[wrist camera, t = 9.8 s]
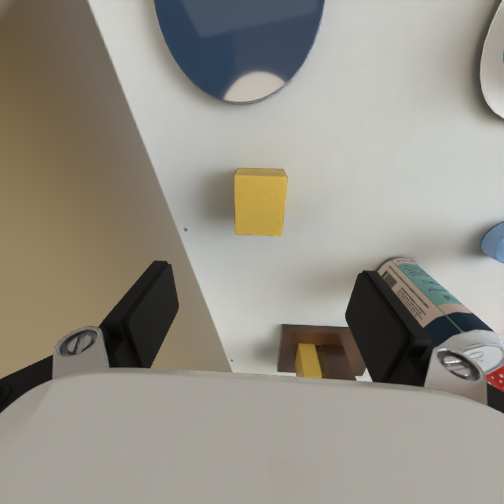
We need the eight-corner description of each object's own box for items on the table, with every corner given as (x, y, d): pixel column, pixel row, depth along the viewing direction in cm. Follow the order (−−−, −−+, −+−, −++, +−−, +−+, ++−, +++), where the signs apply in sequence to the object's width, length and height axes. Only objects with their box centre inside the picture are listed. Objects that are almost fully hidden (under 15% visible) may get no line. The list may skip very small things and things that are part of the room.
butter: (294, 363, 35) (299, 397, 30) (298, 343, 32) (304, 376, 28) (316, 364, 35) (324, 398, 30) (321, 344, 32) (331, 377, 28)
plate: (173, 103, 19) (168, 101, 18) (141, -134, 13) (131, -157, 12) (309, 105, 19) (311, 104, 18) (338, -136, 13) (345, -159, 12)
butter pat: (239, 219, 24) (235, 234, 21) (238, 167, 22) (233, 175, 18) (279, 221, 24) (282, 236, 21) (283, 169, 21) (287, 176, 18)
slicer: (277, 365, 37) (282, 455, 27) (282, 324, 32) (291, 415, 22) (359, 369, 37) (397, 462, 26) (377, 328, 32) (432, 423, 21)
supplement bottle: (378, 292, 28) (446, 386, 18) (369, 265, 26) (439, 353, 16) (418, 278, 27) (515, 371, 17) (410, 249, 25) (516, 333, 15)
